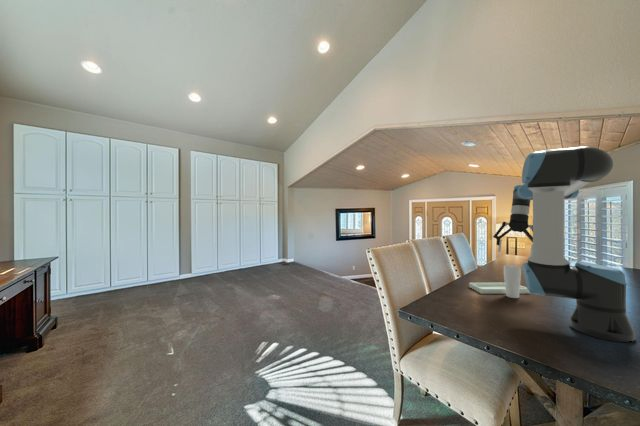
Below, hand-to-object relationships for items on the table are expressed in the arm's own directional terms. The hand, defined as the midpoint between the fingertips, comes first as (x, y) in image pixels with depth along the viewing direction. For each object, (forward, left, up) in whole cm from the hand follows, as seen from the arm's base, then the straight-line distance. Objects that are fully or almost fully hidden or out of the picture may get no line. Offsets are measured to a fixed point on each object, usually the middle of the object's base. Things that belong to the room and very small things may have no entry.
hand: (514, 254), depth 131 cm
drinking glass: (-10, -4, -20) cm, 23 cm away
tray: (-5, +6, -20) cm, 21 cm away
